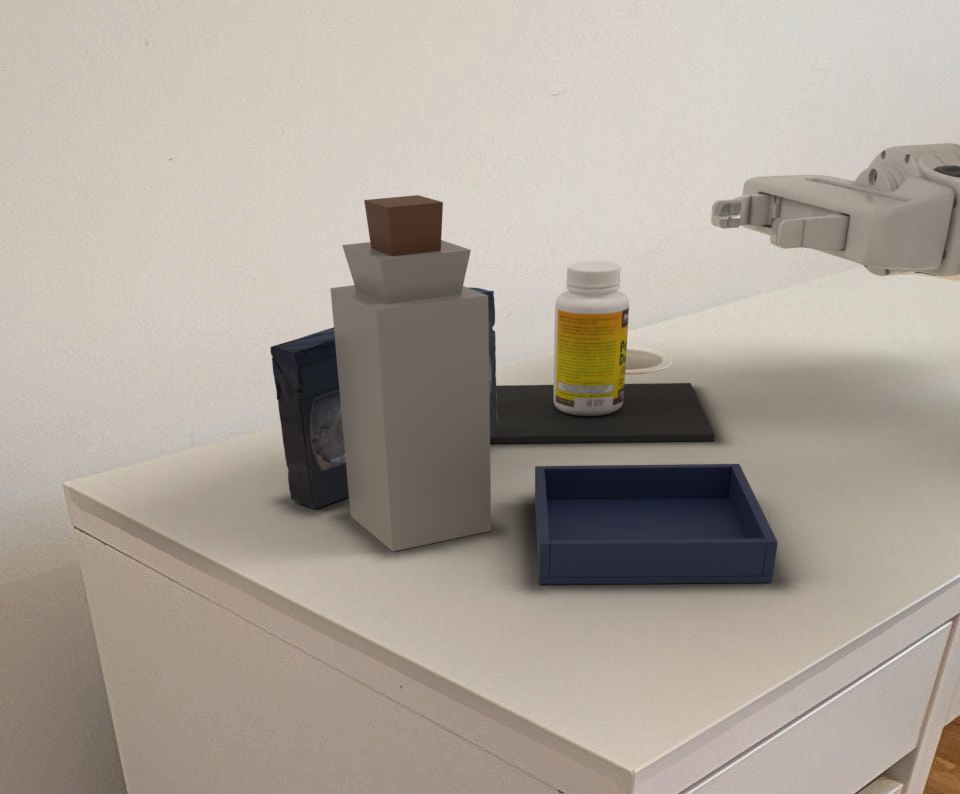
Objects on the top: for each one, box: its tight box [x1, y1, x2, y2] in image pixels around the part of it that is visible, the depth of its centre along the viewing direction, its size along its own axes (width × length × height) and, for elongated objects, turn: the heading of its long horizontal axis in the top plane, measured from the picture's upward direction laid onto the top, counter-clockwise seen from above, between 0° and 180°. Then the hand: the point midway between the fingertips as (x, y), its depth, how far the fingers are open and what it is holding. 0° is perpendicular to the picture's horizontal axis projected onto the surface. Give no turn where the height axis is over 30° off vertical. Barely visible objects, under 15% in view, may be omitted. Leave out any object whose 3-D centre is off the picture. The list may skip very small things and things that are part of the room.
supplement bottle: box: [553, 260, 630, 416], centre depth 87 cm, size 6×6×10 cm
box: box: [534, 463, 779, 585], centre depth 69 cm, size 13×13×2 cm
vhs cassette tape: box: [270, 286, 497, 509], centre depth 77 cm, size 18×3×10 cm, turn 136°
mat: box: [490, 382, 716, 444], centre depth 90 cm, size 18×14×1 cm
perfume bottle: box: [330, 194, 492, 552], centre depth 67 cm, size 7×7×18 cm
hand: (744, 223), depth 85 cm, fingers open, 8 cm apart
